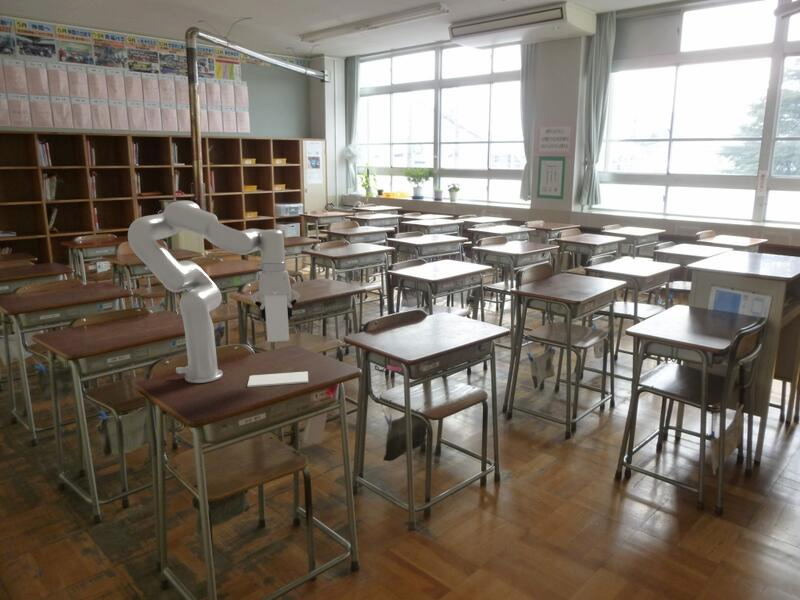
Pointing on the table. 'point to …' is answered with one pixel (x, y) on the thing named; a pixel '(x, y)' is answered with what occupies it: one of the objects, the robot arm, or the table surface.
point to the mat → (278, 379)
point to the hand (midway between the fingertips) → (277, 319)
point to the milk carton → (276, 317)
